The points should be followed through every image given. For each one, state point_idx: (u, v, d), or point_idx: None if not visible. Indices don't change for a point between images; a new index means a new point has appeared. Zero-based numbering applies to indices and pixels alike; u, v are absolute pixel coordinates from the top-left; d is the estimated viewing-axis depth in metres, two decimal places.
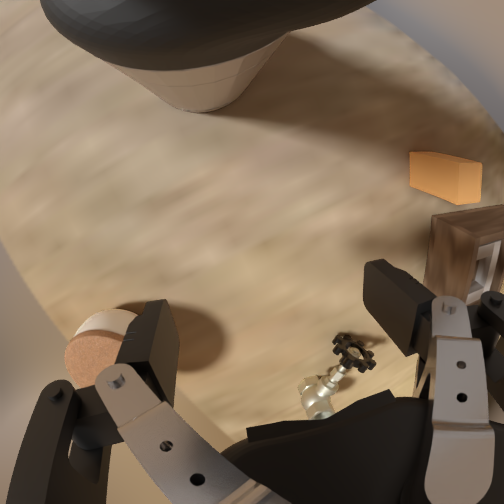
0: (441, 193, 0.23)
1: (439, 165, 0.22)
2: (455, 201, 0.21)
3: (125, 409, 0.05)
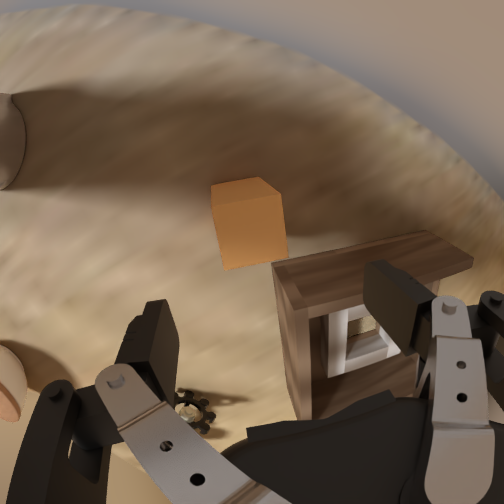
0: None
1: None
2: (223, 265, 0.17)
3: (125, 409, 0.05)
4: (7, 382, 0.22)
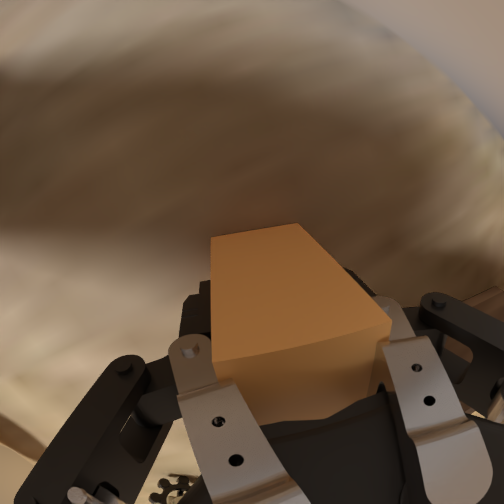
0: None
1: None
2: None
3: (210, 373, 0.06)
4: None
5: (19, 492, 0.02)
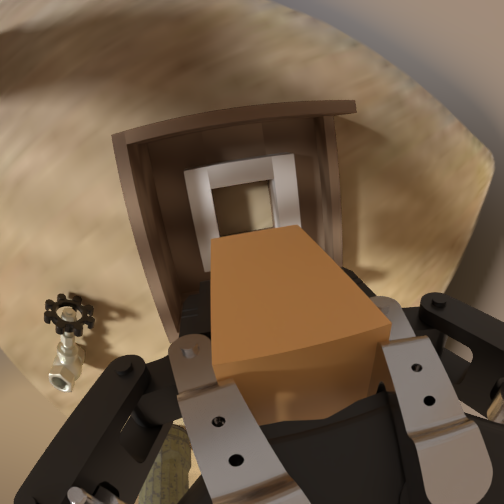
0: None
1: None
2: None
3: (210, 373, 0.06)
4: None
5: (19, 492, 0.02)
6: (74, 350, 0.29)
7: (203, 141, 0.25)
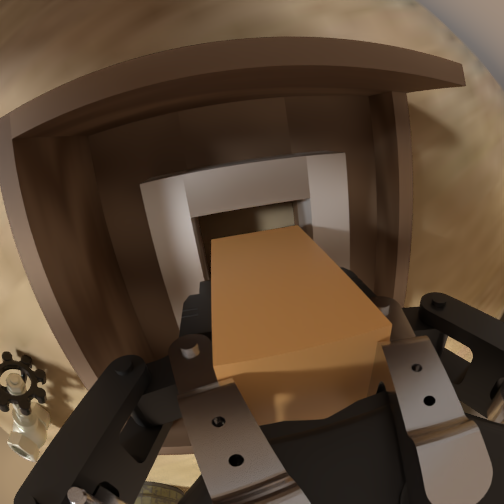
0: None
1: None
2: None
3: (210, 373, 0.06)
4: None
5: (19, 492, 0.02)
6: (32, 418, 0.18)
7: (181, 129, 0.13)
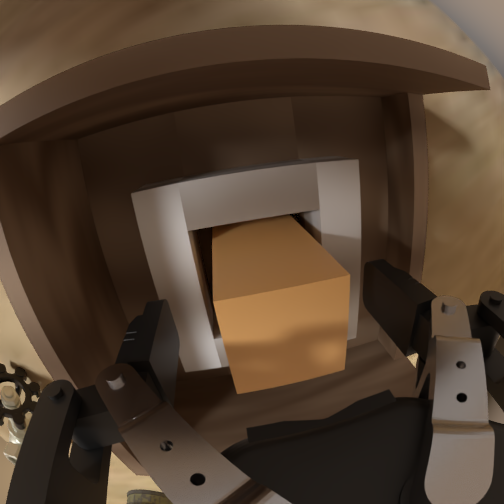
0: None
1: None
2: (235, 385, 0.09)
3: (126, 409, 0.05)
4: None
5: None
6: None
7: (177, 131, 0.12)
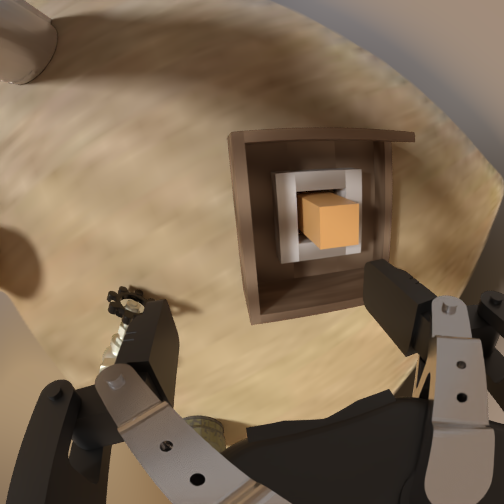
0: (312, 237, 0.28)
1: (310, 209, 0.28)
2: (319, 246, 0.26)
3: (125, 409, 0.05)
4: None
5: None
6: None
7: (287, 150, 0.29)
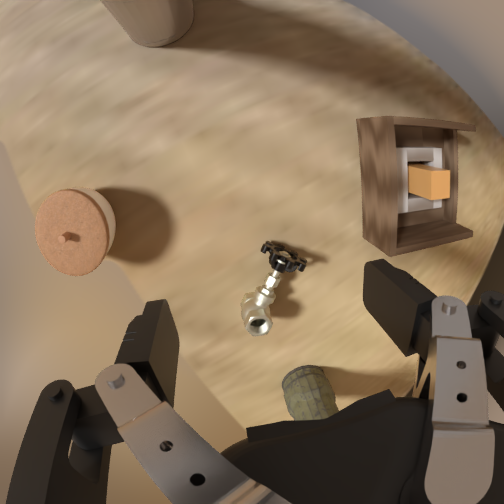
0: (420, 193, 0.35)
1: (418, 173, 0.34)
2: (430, 198, 0.33)
3: (125, 409, 0.05)
4: (106, 211, 0.30)
5: None
6: None
7: (395, 132, 0.36)
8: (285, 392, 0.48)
